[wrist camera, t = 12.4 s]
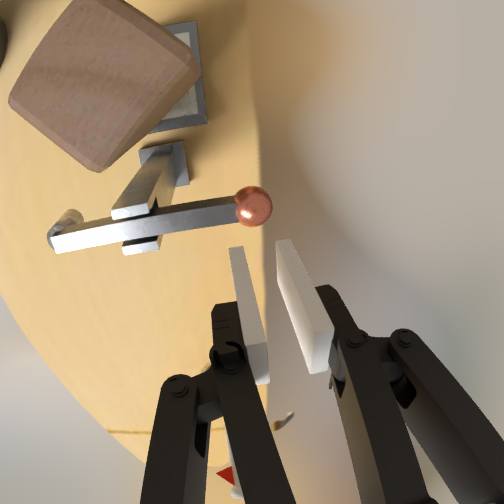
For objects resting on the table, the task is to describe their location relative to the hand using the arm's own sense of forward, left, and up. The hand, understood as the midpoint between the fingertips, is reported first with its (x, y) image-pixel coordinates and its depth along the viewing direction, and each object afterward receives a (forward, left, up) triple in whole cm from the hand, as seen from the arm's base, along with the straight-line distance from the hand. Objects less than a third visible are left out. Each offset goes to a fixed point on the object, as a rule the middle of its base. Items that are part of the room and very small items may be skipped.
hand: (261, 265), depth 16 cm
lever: (0, -8, -12) cm, 14 cm away
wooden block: (-12, -9, -24) cm, 29 cm away
